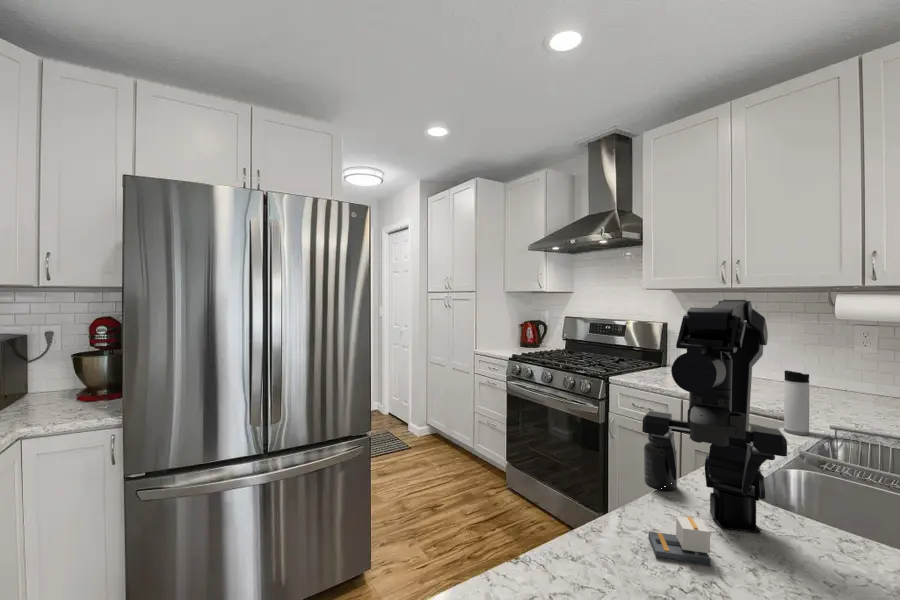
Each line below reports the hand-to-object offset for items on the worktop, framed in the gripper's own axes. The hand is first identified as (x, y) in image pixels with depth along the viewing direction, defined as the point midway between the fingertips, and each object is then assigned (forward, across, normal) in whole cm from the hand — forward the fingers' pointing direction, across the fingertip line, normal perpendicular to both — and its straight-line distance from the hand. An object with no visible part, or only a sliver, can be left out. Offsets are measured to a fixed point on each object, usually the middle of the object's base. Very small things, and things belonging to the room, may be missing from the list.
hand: (708, 486), depth 66 cm
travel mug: (+8, +23, +97) cm, 100 cm away
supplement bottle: (+12, -10, +31) cm, 35 cm away
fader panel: (+13, -4, +4) cm, 15 cm away
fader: (+12, -2, +5) cm, 13 cm away
